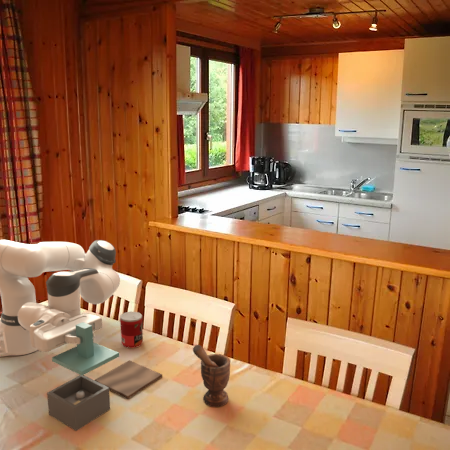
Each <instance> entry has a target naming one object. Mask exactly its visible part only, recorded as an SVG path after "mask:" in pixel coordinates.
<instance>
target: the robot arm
mask: <svg viewBox="0 0 450 450" xmlns="http://www.w3.org/2000/svg"><path fill="white" fill-rule="evenodd" d="M116 253H117V252H116V248H115V247H114V245H113V243H110V242H108V241H107V240H103V239H96V240H94V241H93V242H92V243H91V244H90V246H89V247H88V250H87V252H85V250H84V248H83V246H81V245H80V244H77V243H74V242H69V241H41V242H40V241H39V243H35V244H34V243H33V244H31V243H30V244H29V243H23V242H17V241H13V240H8V239H0V299H1V305H2V308H1V310H0V315H1V316H0V357H7V356H23V355H28V354H31V353H34V352H37V351H39V352H42V353H47V352H51V351H53V350H55V349H57V348H59V347H60V348H61V347H62V346H64V345H66V344H76V345H77V344H81V343H83V337H81V336H76V325H77V324H79V323H82V322H84V323H87V324H89V325H92V331H93V339H94V338H95V332H96V331H99V330H102V328H103V318H102V316H101V315H98V314H93V313H89V312H88V313H87V312H86V313H85V312H84V313H82V312H81V299H82V300H84V301H85V302H87V303H89V304H92V305H100V304H103V303H105V302H107V300H108V299H109V298H111V297H112V296H113V295H114V294H115V293H116V291H117V290H118V288H119V287H120V283H121V278H120V275H119V274H118V272H117V271H116V270H114V269H113V265H114V264H115V263H116V262H117V261H116V255H117V254H116ZM67 270H68V271H67ZM45 272H54V273H52V274H51V275H50V276H49V277H48V279H47V280H46V281H45V284H46V291H47V300H48V305H45V304H42V303H38V302H37V300H36V299H37V298H36V289H35V286H34V285H33V283H32V282H31V281H30V280H29V278H37V277H39V276H41V275H42V274H43V273H45Z"/></svg>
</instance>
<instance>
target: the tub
mask: <svg viewBox="0 0 450 450" xmlns="http://www.w3.org/2000/svg"><path fill="white" fill-rule="evenodd" d="M46 395H47V406H48V407H47V408H48V415H49V416H50V417H52V418H53V419H55V420H57V421H58V422H61V423H62V424H64V425H65V426H66V427H69V428H70V429H73V430H74V431H76V432H77V431H79V430H81V428H83V427H85V426H87V425H88V424H89V423H91V422H92V421H93V420H95V419H97V418H99V417H101V416H102V415H103V414H104V413H107V412H109V410H111V397H110V390H109V387H107V386H105V385H103V384H101V383H99V382H97V381H95V379H92V378H90V377H88V376H86V375H85V374H84V375H82V376H81V375H79V374H78V375H77V376H76V377H74V378H73V379H70V380H69V381H66V382H65V383H63V384H61V385H59V386H57V387H55V388H52V390H49V391H48V392H47V393H46Z"/></svg>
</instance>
